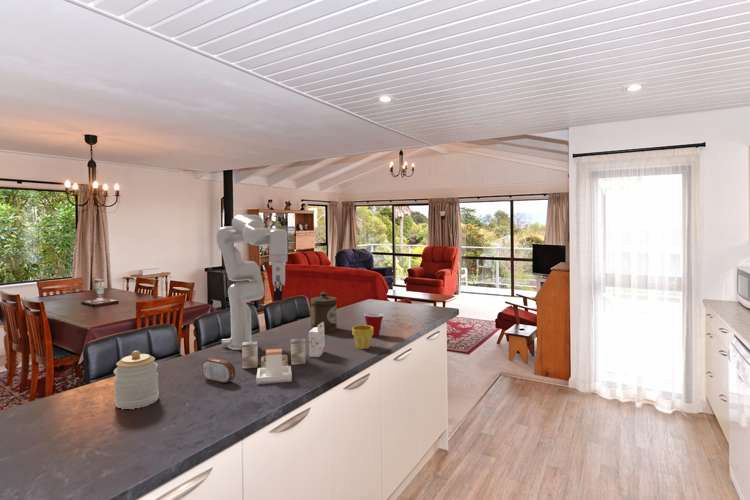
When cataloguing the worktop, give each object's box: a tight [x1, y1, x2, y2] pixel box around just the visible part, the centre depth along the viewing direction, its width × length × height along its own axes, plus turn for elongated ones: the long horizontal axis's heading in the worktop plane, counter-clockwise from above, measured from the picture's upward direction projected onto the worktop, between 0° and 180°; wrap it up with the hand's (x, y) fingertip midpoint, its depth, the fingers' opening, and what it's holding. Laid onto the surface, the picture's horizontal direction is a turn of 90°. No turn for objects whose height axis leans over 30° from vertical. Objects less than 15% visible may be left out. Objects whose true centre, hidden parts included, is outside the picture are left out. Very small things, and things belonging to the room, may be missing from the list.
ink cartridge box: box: [308, 322, 326, 358], centre depth 192 cm, size 9×5×15 cm, turn 168°
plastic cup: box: [363, 312, 385, 338], centre depth 224 cm, size 11×11×12 cm
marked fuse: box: [265, 348, 283, 376], centre depth 162 cm, size 6×4×10 cm, turn 103°
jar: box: [113, 350, 160, 410], centre depth 140 cm, size 13×13×18 cm
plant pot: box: [351, 324, 373, 350], centre depth 203 cm, size 10×10×10 cm
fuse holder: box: [241, 337, 307, 369], centre depth 178 cm, size 26×9×10 cm, turn 103°
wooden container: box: [309, 291, 338, 334], centre depth 236 cm, size 15×15×22 cm
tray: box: [255, 365, 293, 385], centre depth 162 cm, size 13×11×2 cm
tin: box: [201, 356, 236, 384], centre depth 159 cm, size 15×3×8 cm, turn 65°
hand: (278, 298), depth 178 cm, fingers open, 9 cm apart
